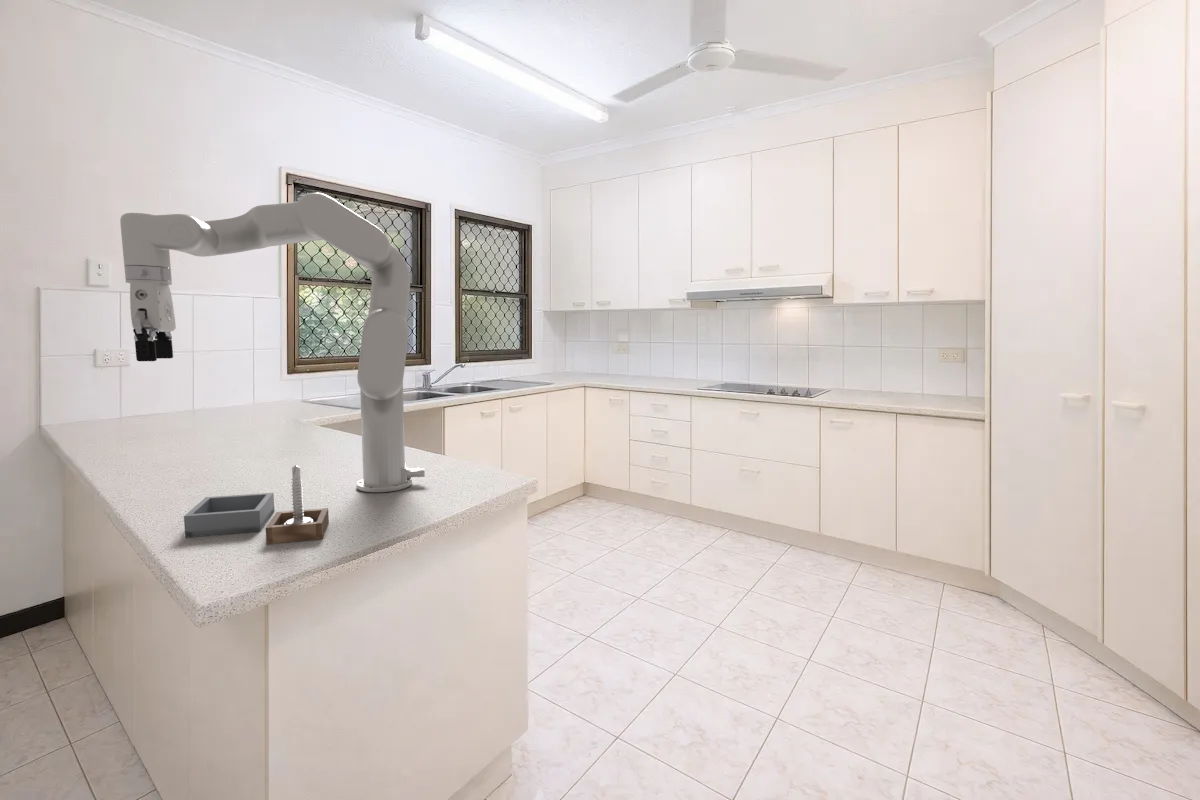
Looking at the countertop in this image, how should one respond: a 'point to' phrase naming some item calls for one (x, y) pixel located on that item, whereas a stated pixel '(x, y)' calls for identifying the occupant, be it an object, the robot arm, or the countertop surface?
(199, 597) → the countertop surface
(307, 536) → the frame
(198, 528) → the bin
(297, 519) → the screw
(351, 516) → the countertop surface
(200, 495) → the countertop surface
